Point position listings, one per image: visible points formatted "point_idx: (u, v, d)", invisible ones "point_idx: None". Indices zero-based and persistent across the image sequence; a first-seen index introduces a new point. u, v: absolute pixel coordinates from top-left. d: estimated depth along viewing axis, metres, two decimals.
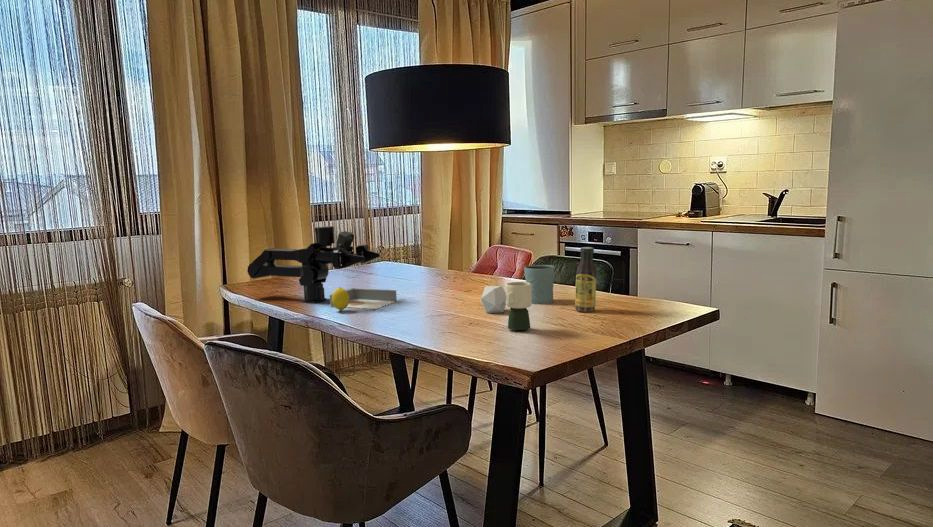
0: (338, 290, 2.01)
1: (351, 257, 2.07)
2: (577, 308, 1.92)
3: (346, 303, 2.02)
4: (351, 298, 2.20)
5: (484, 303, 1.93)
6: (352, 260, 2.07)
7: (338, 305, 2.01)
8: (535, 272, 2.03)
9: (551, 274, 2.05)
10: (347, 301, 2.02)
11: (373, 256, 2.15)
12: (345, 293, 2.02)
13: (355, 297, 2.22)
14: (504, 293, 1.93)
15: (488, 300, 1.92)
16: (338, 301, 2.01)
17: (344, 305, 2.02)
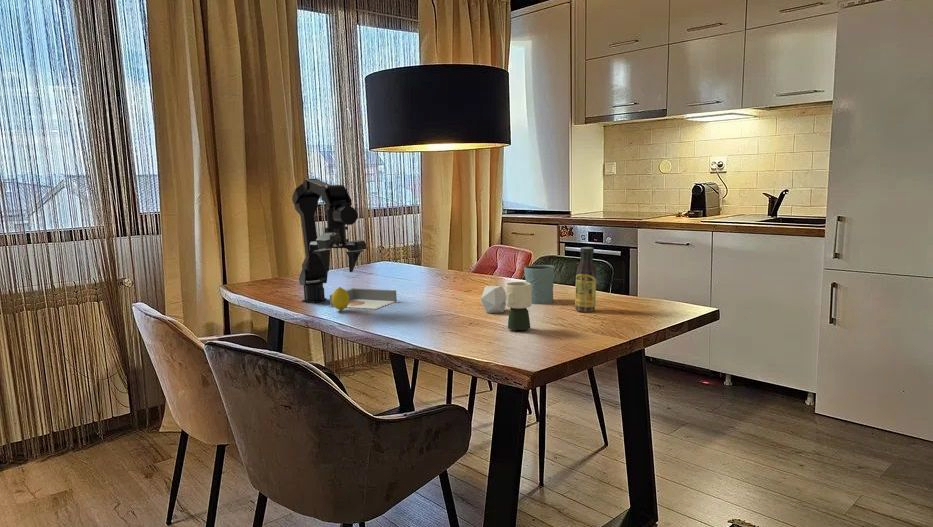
0: (338, 290, 2.01)
1: None
2: (577, 308, 1.92)
3: (346, 303, 2.02)
4: (351, 298, 2.20)
5: (484, 303, 1.93)
6: None
7: (338, 305, 2.01)
8: (535, 272, 2.03)
9: (551, 274, 2.05)
10: (347, 301, 2.02)
11: None
12: (345, 293, 2.02)
13: (355, 297, 2.22)
14: (504, 293, 1.93)
15: (488, 300, 1.92)
16: (338, 301, 2.01)
17: (344, 305, 2.02)
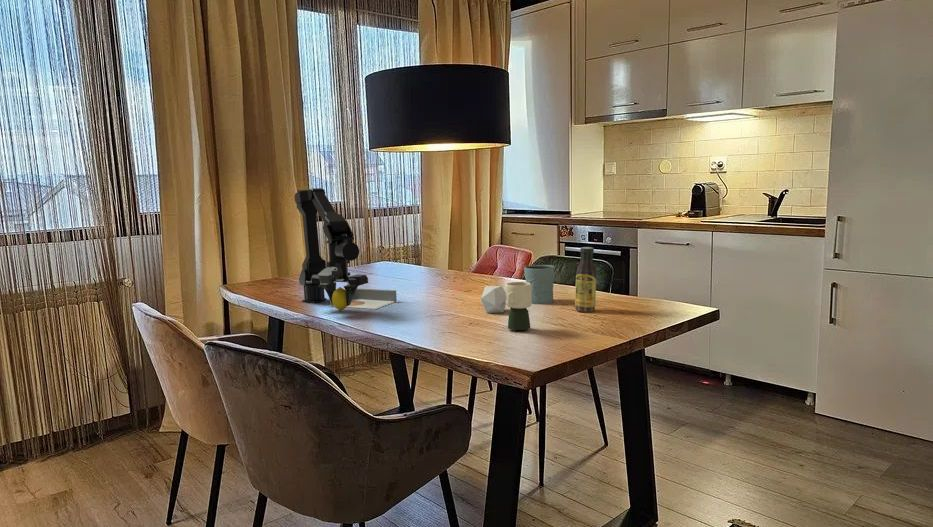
0: (338, 290, 2.01)
1: None
2: (577, 308, 1.92)
3: (346, 303, 2.02)
4: None
5: (484, 303, 1.93)
6: None
7: (338, 305, 2.01)
8: (535, 272, 2.03)
9: (551, 274, 2.05)
10: None
11: None
12: (345, 293, 2.02)
13: (355, 297, 2.22)
14: (504, 293, 1.93)
15: (488, 300, 1.92)
16: (338, 301, 2.01)
17: (344, 305, 2.02)
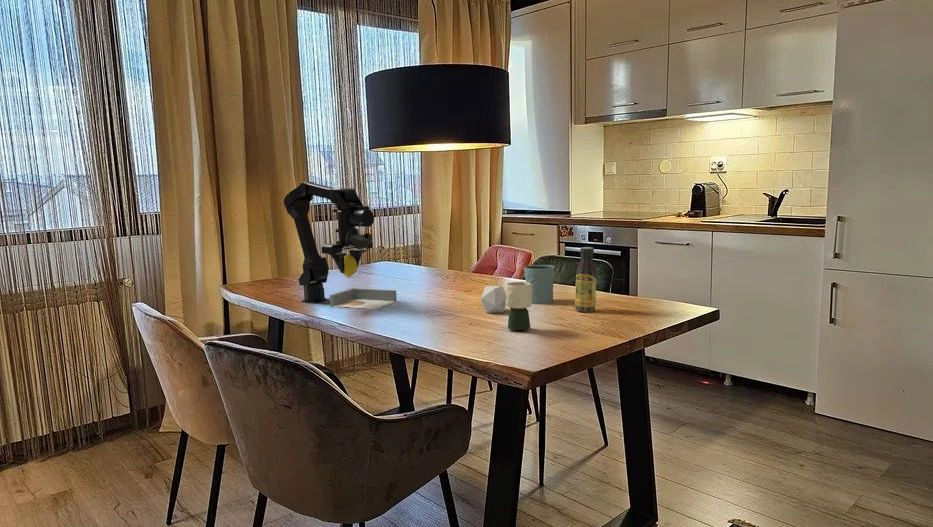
0: (351, 256, 2.09)
1: (340, 260, 2.06)
2: (577, 308, 1.92)
3: None
4: (351, 298, 2.20)
5: (484, 303, 1.93)
6: (338, 261, 2.07)
7: (355, 271, 2.09)
8: (535, 272, 2.03)
9: (551, 274, 2.05)
10: None
11: None
12: None
13: (355, 297, 2.22)
14: (504, 293, 1.93)
15: (488, 300, 1.92)
16: (356, 266, 2.09)
17: None
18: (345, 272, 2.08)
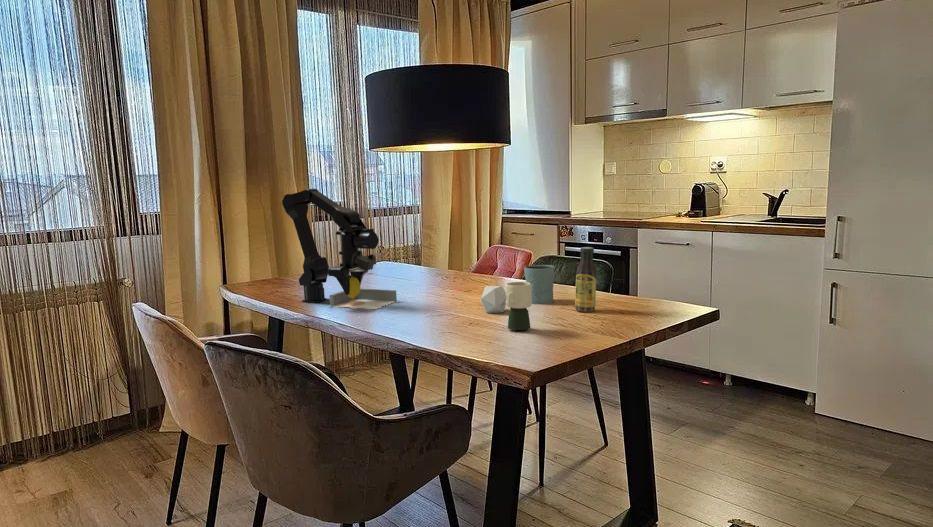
0: (355, 278, 2.12)
1: (345, 282, 2.09)
2: (577, 308, 1.92)
3: None
4: (351, 298, 2.20)
5: (484, 303, 1.93)
6: (343, 283, 2.09)
7: (359, 292, 2.13)
8: (535, 272, 2.03)
9: (551, 274, 2.05)
10: None
11: None
12: None
13: (355, 297, 2.22)
14: (504, 293, 1.93)
15: (488, 300, 1.92)
16: None
17: None
18: (350, 293, 2.11)
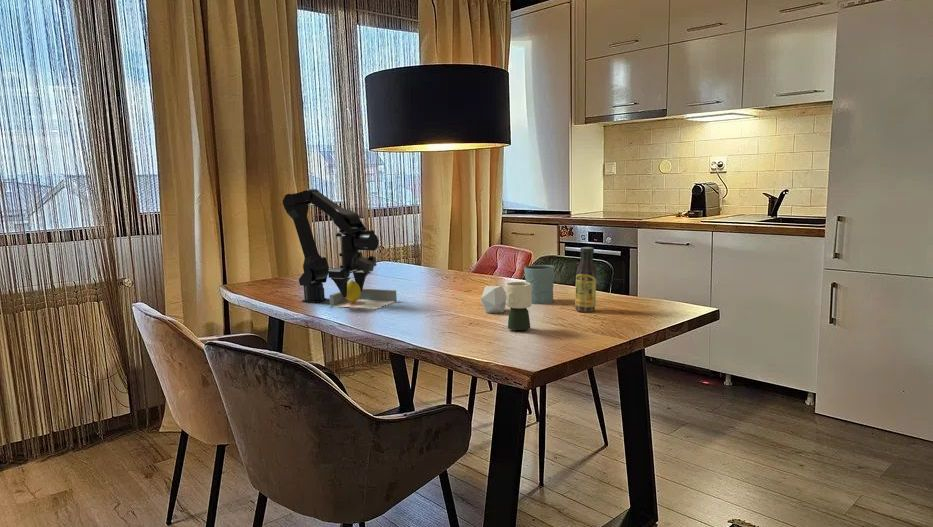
0: (355, 282, 2.12)
1: (343, 285, 2.07)
2: (577, 308, 1.92)
3: None
4: None
5: (484, 303, 1.93)
6: (340, 285, 2.08)
7: (359, 296, 2.13)
8: (535, 272, 2.03)
9: (551, 274, 2.05)
10: None
11: None
12: None
13: None
14: (504, 293, 1.93)
15: (488, 300, 1.92)
16: (360, 292, 2.13)
17: None
18: (350, 298, 2.11)
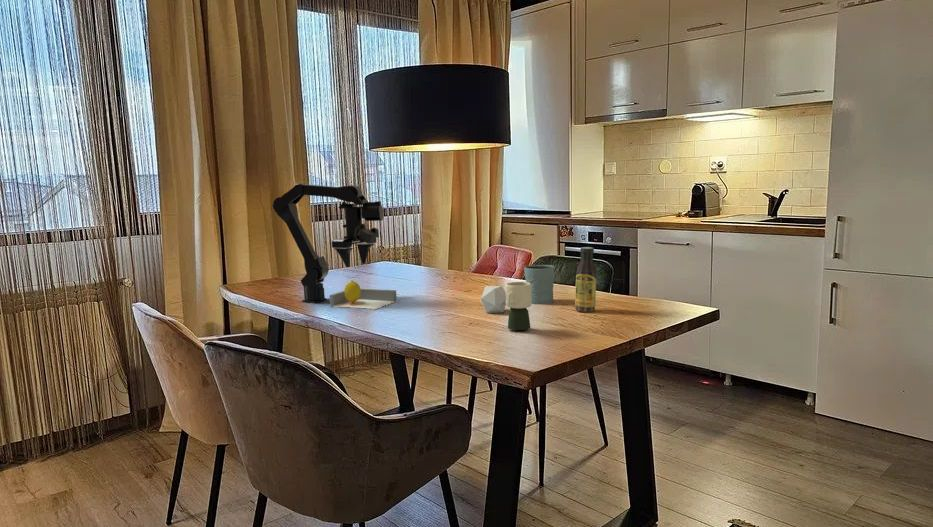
0: (355, 282, 2.12)
1: (346, 255, 2.13)
2: (577, 308, 1.92)
3: None
4: None
5: (484, 303, 1.93)
6: (343, 255, 2.14)
7: (359, 296, 2.13)
8: (535, 272, 2.03)
9: (551, 274, 2.05)
10: None
11: (362, 257, 2.23)
12: None
13: None
14: (504, 293, 1.93)
15: (488, 300, 1.92)
16: (360, 292, 2.13)
17: None
18: (350, 298, 2.11)
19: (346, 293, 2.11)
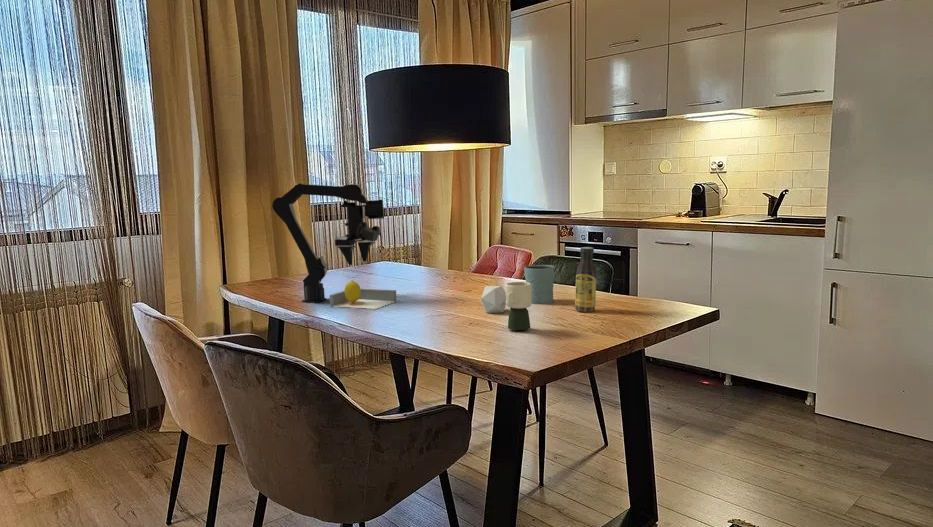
0: (355, 282, 2.12)
1: (348, 253, 2.16)
2: (577, 308, 1.92)
3: None
4: None
5: (484, 303, 1.93)
6: (346, 253, 2.17)
7: (359, 296, 2.13)
8: (535, 272, 2.03)
9: (551, 274, 2.05)
10: None
11: (363, 254, 2.27)
12: None
13: None
14: (504, 293, 1.93)
15: (488, 300, 1.92)
16: (360, 292, 2.13)
17: None
18: (350, 298, 2.11)
19: (346, 293, 2.11)
